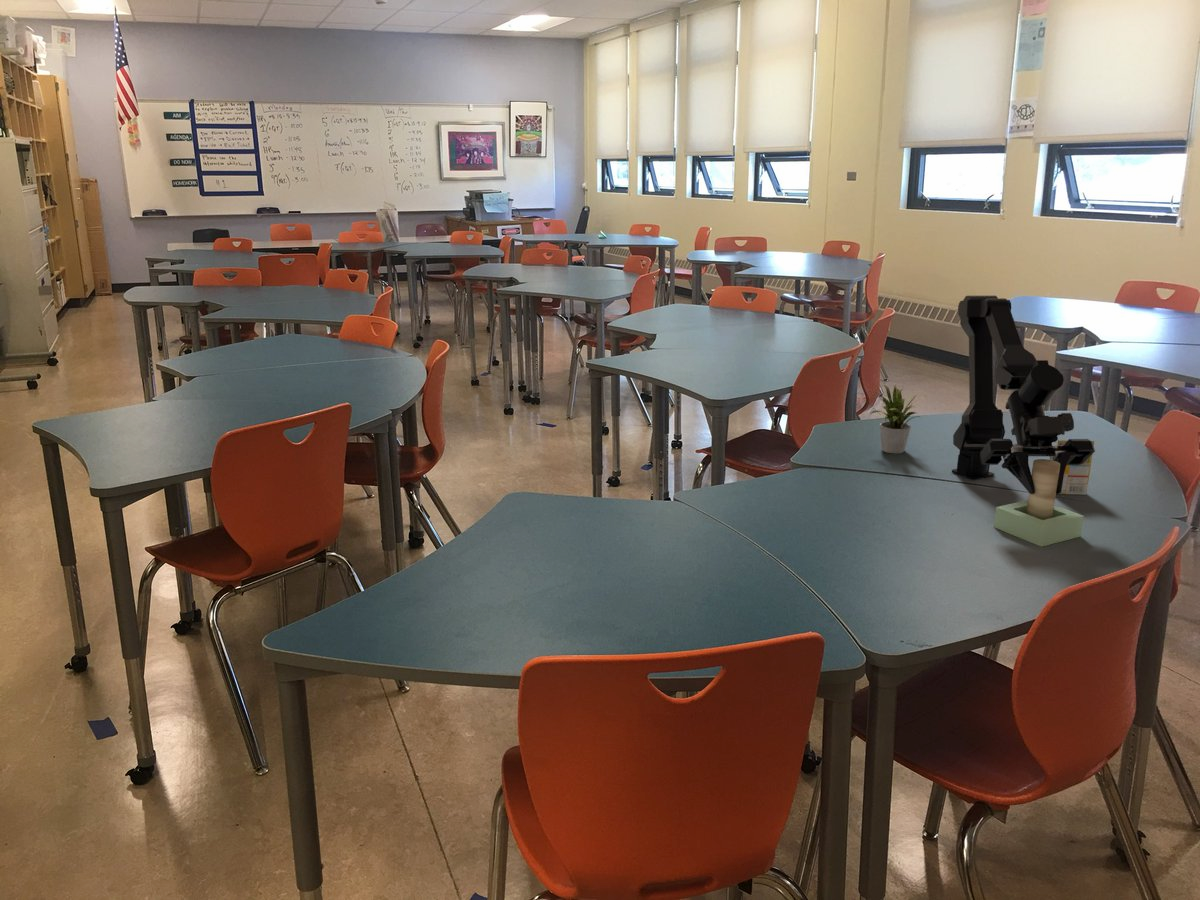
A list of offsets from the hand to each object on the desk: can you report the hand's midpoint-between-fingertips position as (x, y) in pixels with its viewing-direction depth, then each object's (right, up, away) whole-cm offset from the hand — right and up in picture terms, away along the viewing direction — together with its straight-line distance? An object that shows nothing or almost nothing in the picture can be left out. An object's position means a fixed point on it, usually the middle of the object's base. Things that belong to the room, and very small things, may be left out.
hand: (1045, 493), depth 164 cm
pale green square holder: (0, -7, +4) cm, 8 cm away
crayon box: (+16, -1, +24) cm, 29 cm away
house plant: (-12, +8, +54) cm, 55 cm away
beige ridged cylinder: (0, -6, +3) cm, 7 cm away
